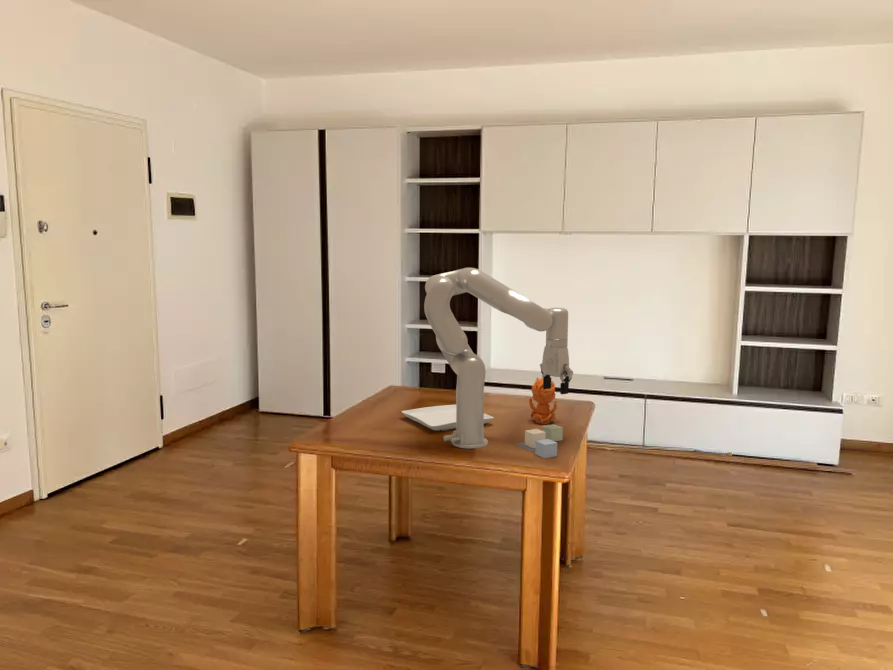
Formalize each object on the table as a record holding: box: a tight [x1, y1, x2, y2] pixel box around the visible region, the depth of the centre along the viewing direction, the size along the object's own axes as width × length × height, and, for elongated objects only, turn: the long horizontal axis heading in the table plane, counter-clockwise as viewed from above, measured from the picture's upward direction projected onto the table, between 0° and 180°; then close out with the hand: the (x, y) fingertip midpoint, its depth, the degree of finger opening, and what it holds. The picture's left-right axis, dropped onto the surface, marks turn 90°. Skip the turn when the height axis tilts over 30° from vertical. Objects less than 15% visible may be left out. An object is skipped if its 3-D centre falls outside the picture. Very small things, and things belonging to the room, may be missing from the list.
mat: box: [515, 441, 536, 453], centre depth 239 cm, size 10×10×1 cm
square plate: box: [400, 403, 495, 431], centre depth 272 cm, size 27×27×4 cm
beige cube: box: [524, 428, 546, 448], centre depth 239 cm, size 5×5×5 cm
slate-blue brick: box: [534, 439, 558, 459], centre depth 228 cm, size 5×5×5 cm
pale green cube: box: [542, 424, 564, 442], centre depth 246 cm, size 5×5×5 cm
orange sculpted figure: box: [528, 377, 558, 425], centre depth 270 cm, size 11×11×18 cm
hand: (555, 391), depth 246 cm, fingers open, 9 cm apart
